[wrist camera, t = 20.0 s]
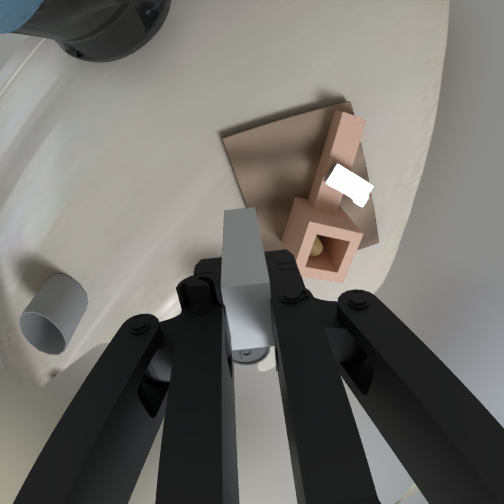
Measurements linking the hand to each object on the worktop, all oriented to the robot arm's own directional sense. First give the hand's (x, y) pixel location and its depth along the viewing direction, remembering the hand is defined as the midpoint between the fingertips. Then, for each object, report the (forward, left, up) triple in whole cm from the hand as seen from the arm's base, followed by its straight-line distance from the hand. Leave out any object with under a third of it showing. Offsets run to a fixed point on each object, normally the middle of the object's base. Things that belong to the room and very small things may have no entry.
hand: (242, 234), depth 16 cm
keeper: (+6, +11, -24) cm, 27 cm away
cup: (+11, -34, -25) cm, 43 cm away
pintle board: (+8, +7, -24) cm, 27 cm away
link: (+7, +9, -23) cm, 26 cm away
